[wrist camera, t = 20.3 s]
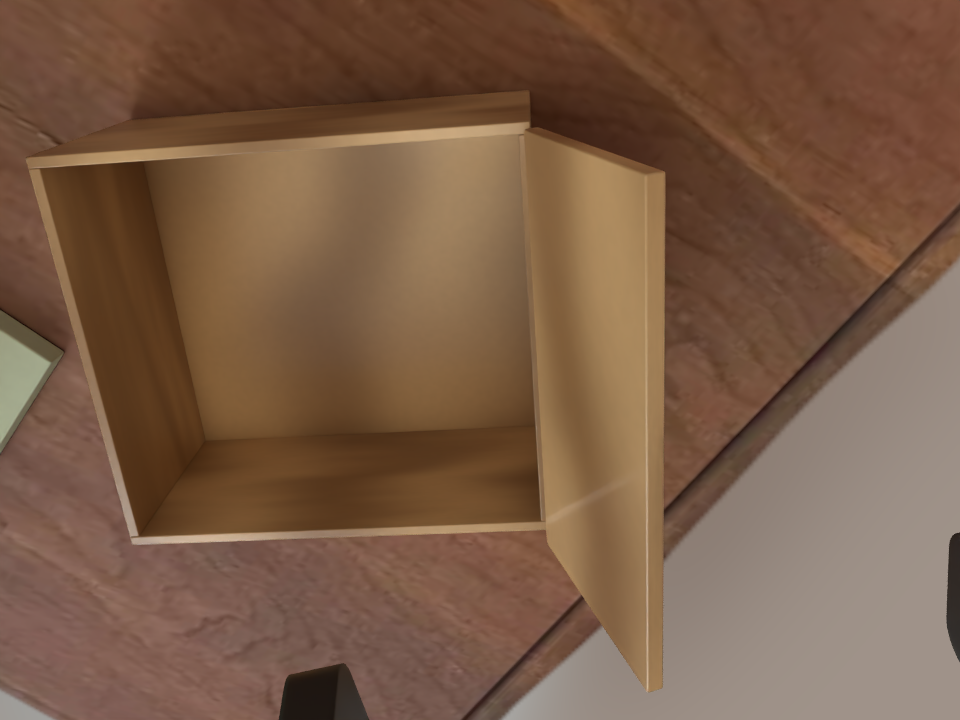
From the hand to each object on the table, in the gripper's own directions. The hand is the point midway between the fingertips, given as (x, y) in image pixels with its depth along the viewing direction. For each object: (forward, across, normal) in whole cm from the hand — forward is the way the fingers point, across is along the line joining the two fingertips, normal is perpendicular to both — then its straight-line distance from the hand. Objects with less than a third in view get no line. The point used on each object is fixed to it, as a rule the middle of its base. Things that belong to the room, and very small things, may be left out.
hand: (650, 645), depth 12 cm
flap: (+9, 0, +1) cm, 9 cm away
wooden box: (+19, +6, +1) cm, 20 cm away
